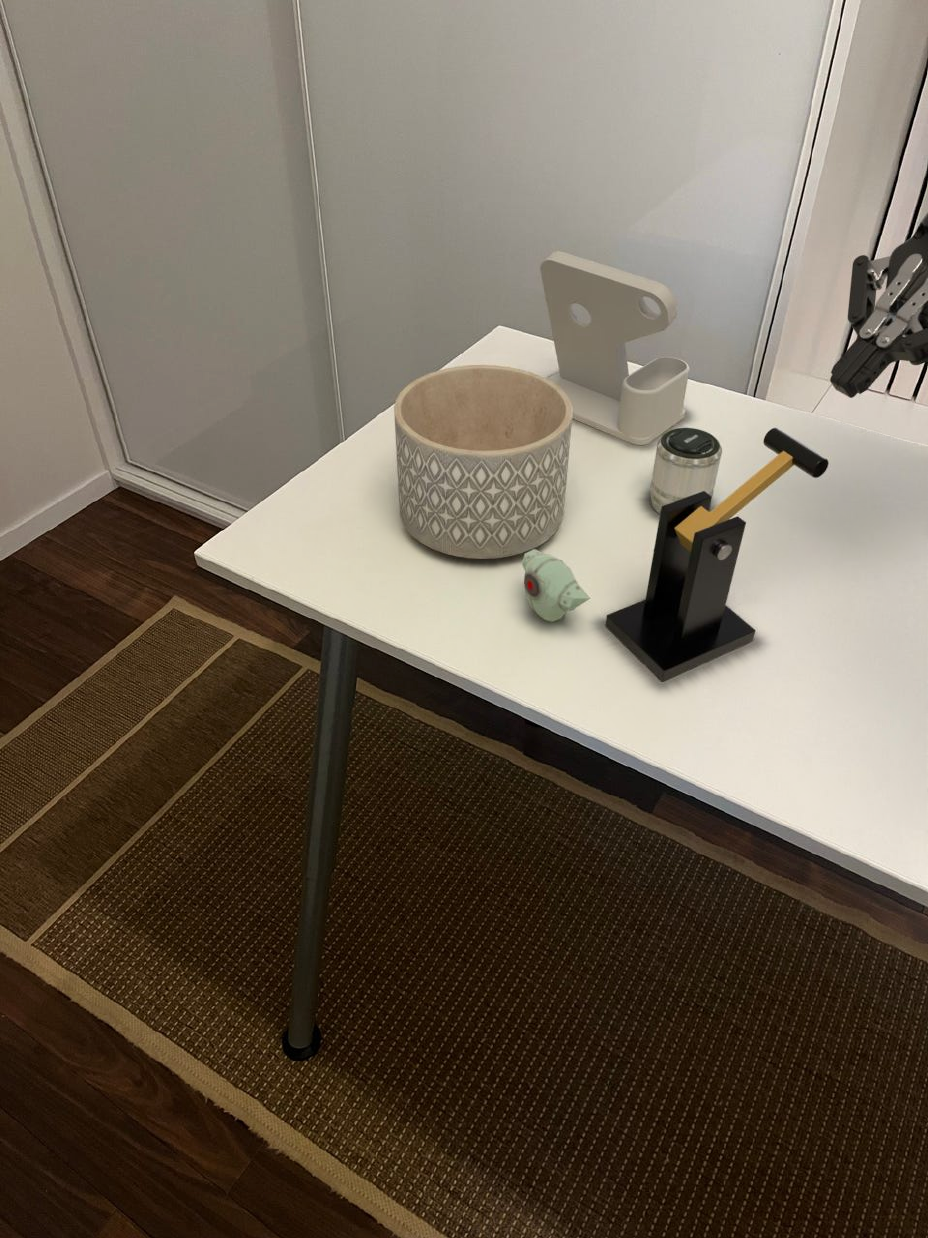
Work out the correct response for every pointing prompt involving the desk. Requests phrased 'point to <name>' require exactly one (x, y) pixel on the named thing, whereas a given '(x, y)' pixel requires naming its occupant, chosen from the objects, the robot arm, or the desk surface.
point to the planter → (482, 459)
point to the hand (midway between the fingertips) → (840, 389)
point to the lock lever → (755, 483)
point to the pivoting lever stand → (685, 596)
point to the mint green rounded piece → (550, 586)
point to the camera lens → (684, 465)
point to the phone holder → (612, 348)
